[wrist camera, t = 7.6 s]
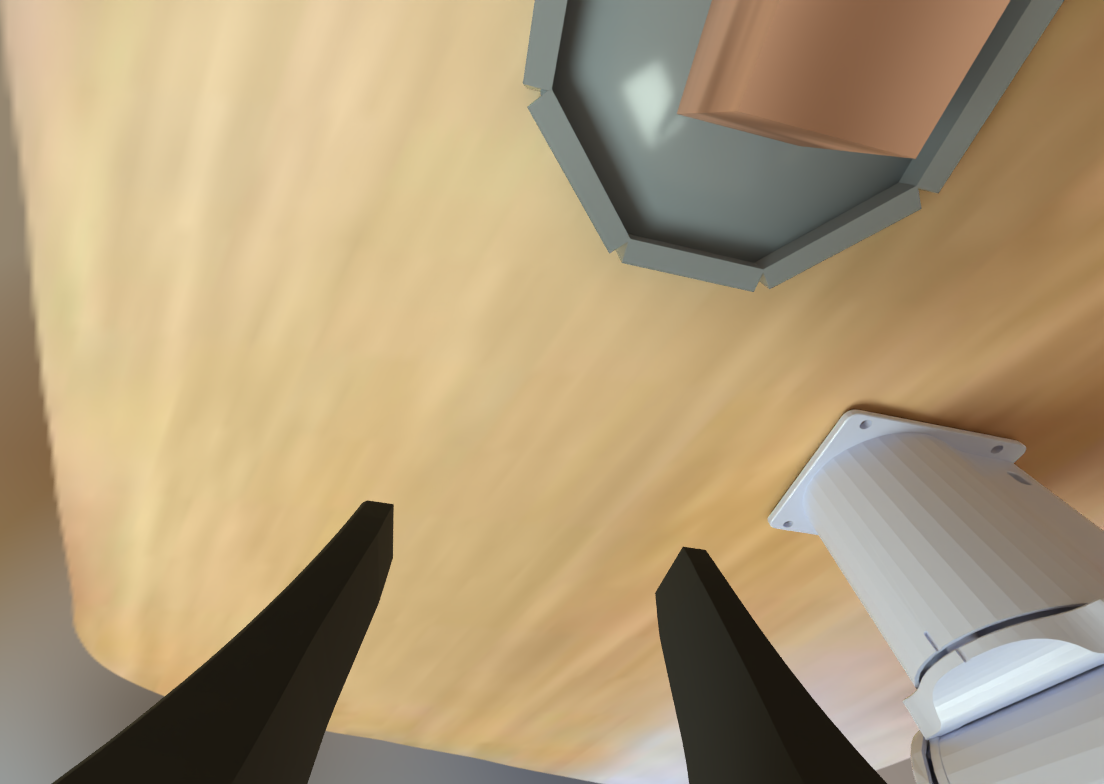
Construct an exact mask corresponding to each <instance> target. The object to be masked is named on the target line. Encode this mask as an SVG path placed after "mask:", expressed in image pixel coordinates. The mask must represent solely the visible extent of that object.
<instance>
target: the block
mask: <svg viewBox="0 0 1104 784" xmlns="http://www.w3.org/2000/svg"><path fill="white" fill-rule="evenodd" d="M1009 2H1010V0H712V2H711V5H710V8H709V12H708V15H707V18H706V21H705V24H704V28H703V31H702V34H701V37H700V40H699V44H698V47H697V50H696V53H695V57H694V60H693V63H692V66H691V69H690V73H689V76H688V79H687V82H686V85H685V89H684V92H683V95H682V98H681V102H680V105H679V108H678V111H677V114H679V115H683V116H686V117H690V118H694V119H698V120H702V121H705V122H709V123H713V124H717V125H721V126H724V127H728V128H732V129H736V130H740V131H744V132H747V133H751V134H755V135H759V136H763V137H766V138H770V139H774V140H778V141H782V142H785V143H789V144H793V145H797V146H803V147H812V148H821V149H830V150H840V151H849V152H858V153H867V154H876V155H885V156H895V157H904V158H913V159H916V157H917V156H918V154H919V152H920V151H921V149H922V147H923V146H924V144H925V142H926V141H927V139H928V137H929V136H930V134H931V132H932V131H933V129H934V127H935V126H936V124H937V122H938V121H939V119H940V117H941V116H942V114H943V112H944V111H945V109H946V107H947V106H948V104H949V102H950V101H951V99H952V97H953V96H954V94H955V92H956V91H957V89H958V87H959V86H960V84H961V82H962V81H963V79H964V77H965V76H966V74H967V72H968V70H969V69H970V67H971V65H972V64H973V62H974V60H975V59H976V57H977V55H978V54H979V52H980V50H981V49H982V47H983V45H984V44H985V42H986V40H987V39H988V37H989V35H990V34H991V32H992V30H993V29H994V27H995V25H996V24H997V22H998V20H999V19H1000V17H1001V15H1002V14H1003V12H1004V10H1005V9H1006V7H1007V5H1008V4H1009Z"/></svg>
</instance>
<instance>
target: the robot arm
mask: <svg viewBox="0 0 1104 784" xmlns="http://www.w3.org/2000/svg"><path fill="white" fill-rule="evenodd" d="M865 420H866V421H865ZM863 421H864V422H863ZM862 422H863V423H862ZM1025 451H1026V446H1025V445H1023V444H1022V443H1021V442H1019V441H1017V440H1012V439H1007V438H1002V437H996V436H991V435H986V434H981V433H976V432H971V431H966V430H960V429H955V428H950V427H945V426H940V425H935V424H929V423H924V422H919V421H914V420H909V419H904V418H899V417H893V416H888V415H883V414H878V413H873V412H868V411H863V410H850V411H848V412H846V413H845V414H844V415H843V416H842V417H841V418H840V419H839V421H838V422H837V424H836V425H835V426H834V428H833V429H832V430H831V432H830V433H829V435H828V436H827V437H826V439H825V440H824V441H823V443H822V444H821V446H820V447H819V448H818V450H817V451H816V452H815V454H814V455H813V456H812V458H811V459H810V461H809V462H808V463H807V465H806V466H805V467H804V469H803V470H802V472H801V473H800V474H799V476H798V477H797V478H796V480H795V481H794V483H793V484H792V485H791V487H790V488H789V489H788V491H787V492H786V493H785V495H784V496H783V498H782V499H781V500H780V502H779V503H778V504H777V506H776V507H775V509H774V510H773V511H772V513H771V514H770V515H769V517H768V522H769V524H770V526H771V527H773V528H777V529H783V530H790V531H796V532H803V533H809V534H816V535H819V536H820V538H821V540H822V541H823V543H824V544H825V546H826V547H827V549H828V551H829V552H830V554H831V555H832V557H833V558H834V560H835V562H836V563H837V565H838V566H839V568H840V569H841V571H842V573H843V574H844V576H845V577H846V579H847V580H848V582H849V584H850V585H851V587H852V588H853V590H854V591H855V593H856V595H857V596H858V598H859V599H860V601H861V602H862V604H863V606H864V607H865V609H866V610H867V612H868V613H869V615H870V617H871V618H872V620H873V621H874V623H875V624H876V626H877V628H878V629H879V631H880V632H881V634H882V635H883V637H884V639H885V640H886V642H887V643H888V645H889V646H890V648H891V650H892V651H893V653H894V654H895V656H896V657H897V659H898V661H899V662H900V664H901V665H902V667H903V668H904V670H905V672H906V673H907V675H908V676H909V678H910V679H911V681H912V682H913V684H914V686H915V687H916V689H917V690H916V691H915V692H914V693H913V694H912V695H910V696H909V697H907V698H905V699H904V700H903V703H904V704H905V706H906V708H907V709H908V711H909V713H910V714H911V716H912V718H913V719H914V721H915V723H916V724H917V726H918V728H919V729H920V730H919V731H918V732H917V733H916V734H915V736H914V737H913V740H912V743H911V763H912V770H913V774H914V778H915V781H916V784H1104V531H1103V530H1102V529H1100V528H1099V527H1098V526H1096V525H1095V524H1094V523H1092V522H1091V521H1090V520H1088V519H1087V518H1086V517H1084V516H1083V515H1082V514H1080V513H1079V512H1078V511H1076V510H1075V509H1074V508H1072V507H1071V506H1070V505H1068V504H1067V503H1066V502H1064V501H1063V500H1062V499H1060V498H1059V497H1058V496H1056V495H1055V494H1054V493H1052V492H1051V491H1050V490H1048V489H1047V488H1046V487H1044V486H1043V485H1042V484H1040V483H1039V482H1038V481H1036V480H1035V479H1034V478H1032V477H1031V476H1030V475H1028V474H1027V473H1026V472H1024V471H1023V470H1022V469H1020V468H1019V467H1018V466H1016V465H1015V464H1014V462H1015V461H1016V460H1018V459H1019V458H1020V457H1021V456H1022V455H1023V454H1024V453H1025ZM393 507H394V504H387V503H381V502H374V501H365V502H363V503H362V504H361V505H360V507H359V508H358V509H357V510H356V512H355V513H354V514H353V515H352V516H351V518H350V519H349V520H348V521H347V522H346V524H345V525H344V526H343V527H342V528H341V529H340V531H339V532H338V533H337V534H336V535H335V536H334V537H333V539H332V540H331V541H330V542H329V543H328V544H327V545H326V546H325V547H324V549H323V550H322V551H321V552H320V553H319V554H318V555H317V556H316V557H315V558H314V559H313V560H312V561H311V562H310V563H309V564H308V566H307V567H306V568H305V569H304V570H303V571H302V572H301V573H300V574H299V575H298V576H297V577H296V578H295V579H294V580H293V581H292V582H291V583H290V584H289V585H288V586H287V587H286V588H285V589H284V590H283V591H282V592H281V593H280V594H279V595H278V596H277V597H276V598H275V599H274V600H273V601H272V602H271V603H270V604H269V605H268V606H267V607H266V608H265V609H264V610H263V611H262V612H260V613H259V614H258V615H257V616H256V617H255V618H254V619H253V620H252V621H251V622H250V623H249V624H248V625H247V626H246V627H245V628H244V629H243V630H241V631H240V632H239V633H238V634H237V635H236V636H235V637H234V638H233V639H232V640H230V641H229V642H228V643H227V644H226V645H225V646H224V647H223V648H222V649H220V650H219V651H218V652H217V653H216V654H215V655H214V656H212V657H211V658H210V659H209V660H208V661H207V662H205V663H204V664H203V665H202V666H201V667H200V668H198V669H197V670H196V671H195V672H194V673H193V674H192V675H190V676H189V677H188V678H187V679H186V680H184V681H183V682H182V683H181V684H179V685H178V686H177V687H176V688H175V689H173V690H172V691H171V692H170V693H168V694H167V695H166V696H165V697H164V698H162V699H161V700H160V701H159V702H157V703H156V704H155V705H154V706H153V707H151V708H150V709H149V710H148V711H146V712H145V713H144V714H143V715H141V716H140V717H139V718H138V719H137V720H135V721H134V722H133V723H132V724H130V725H129V726H128V727H126V728H125V729H124V730H123V731H121V732H120V733H119V734H117V735H116V736H115V737H114V738H112V739H111V740H110V741H109V742H107V743H106V744H105V745H103V746H102V747H100V748H99V749H98V750H96V751H95V752H94V753H92V754H91V755H90V756H88V757H87V758H86V759H84V760H83V761H82V762H80V763H79V764H78V765H76V766H75V767H74V768H72V769H71V770H69V771H68V772H67V773H65V774H64V775H63V776H61V777H60V778H59V779H58V780H56V781H55V782H53V783H52V784H307V783H308V780H309V777H310V774H311V771H312V768H313V765H314V762H315V759H316V756H317V753H318V750H319V748H320V744H321V742H322V739H323V735H324V733H325V730H326V728H327V725H328V722H329V720H330V717H331V715H332V712H333V710H334V707H335V705H336V702H337V700H338V698H339V695H340V693H341V691H342V688H343V686H344V684H345V681H346V679H347V676H348V674H349V672H350V669H351V667H352V665H353V662H354V660H355V658H356V655H357V653H358V651H359V648H360V646H361V644H362V641H363V639H364V637H365V634H366V632H367V629H368V627H369V625H370V622H371V620H372V618H373V615H374V613H375V610H376V608H377V606H378V603H379V600H380V597H381V594H382V591H383V588H384V585H385V582H386V578H387V575H388V572H389V569H390V565H391V562H392V559H393ZM655 594H656V606H657V617H658V626H659V634H660V640H661V645H662V650H663V654H664V659H665V664H666V669H667V673H668V678H669V682H670V687H671V691H672V696H673V700H674V705H675V710H676V714H677V719H678V723H679V728H680V732H681V737H682V742H683V747H684V753H685V758H686V764H687V771H688V778H689V784H887V783H886V782H885V781H884V780H883V779H882V778H881V777H880V775H879V774H878V773H877V772H876V771H875V770H874V769H873V768H872V767H871V766H870V765H869V763H868V762H867V761H866V760H865V759H864V758H863V757H862V756H861V755H860V753H859V752H858V751H857V750H856V749H855V748H854V747H853V745H852V744H851V743H850V742H849V741H848V740H847V738H846V737H845V736H844V735H843V734H842V733H841V731H840V730H839V729H838V728H837V727H836V726H835V725H834V723H833V722H832V721H831V720H830V719H829V718H828V716H827V715H826V714H825V713H824V712H823V710H822V709H821V708H820V707H819V705H818V704H817V703H816V702H815V701H814V699H813V698H812V697H811V696H810V694H809V693H808V692H807V691H806V689H805V688H804V687H803V685H802V684H801V683H800V682H799V680H798V679H797V678H796V676H795V675H794V674H793V673H792V671H791V670H790V669H789V667H788V666H787V665H786V664H785V662H784V661H783V660H782V658H781V657H780V655H779V654H778V653H777V651H776V650H775V649H774V647H773V646H772V645H771V643H770V642H769V641H768V639H767V638H766V636H765V635H764V634H763V632H762V631H761V629H760V628H759V627H758V625H757V624H756V622H755V621H754V620H753V618H752V617H751V615H750V614H749V612H748V611H747V610H746V608H745V607H744V605H743V604H742V602H741V601H740V599H739V598H738V597H737V595H736V594H735V592H734V591H733V589H732V588H731V586H730V585H729V583H728V582H727V580H726V579H725V577H724V576H723V575H722V573H721V572H720V570H719V569H718V567H717V566H716V564H715V563H714V561H713V560H712V558H711V557H710V556H709V554H708V553H707V551H706V550H702V549H695V548H688V547H683V548H682V549H681V551H680V553H679V554H678V556H677V558H676V559H675V561H674V563H673V564H672V566H671V568H670V569H669V571H668V573H667V574H666V576H665V578H664V579H663V581H662V583H661V584H660V586H659V588H658V589H657V591H656V593H655Z"/></svg>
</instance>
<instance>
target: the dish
mask: <svg viewBox="0 0 1104 784" xmlns="http://www.w3.org/2000/svg"><path fill="white" fill-rule="evenodd" d="M1063 1H1064V0H1010V2H1009V4H1008V5H1007V7H1006V9H1005V10H1004V12H1003V14H1002V15H1001V17H1000V19H999V20H998V22H997V24H996V25H995V27H994V29H993V30H992V32H991V34H990V35H989V37H988V39H987V40H986V42H985V44H984V45H983V47H982V49H981V50H980V52H979V54H978V55H977V57H976V59H975V60H974V62H973V64H972V65H971V67H970V69H969V70H968V72H967V74H966V76H965V77H964V79H963V81H962V82H961V84H960V86H959V87H958V89H957V91H956V92H955V94H954V96H953V97H952V99H951V101H950V102H949V104H948V106H947V107H946V109H945V111H944V112H943V114H942V116H941V117H940V119H939V121H938V122H937V124H936V126H935V127H934V129H933V131H932V132H931V134H930V136H929V137H928V139H927V141H926V142H925V144H924V146H923V147H922V149H921V151H920V152H919V154H918V156H917V157H916V159H913V158H904V157H895V156H885V155H876V154H867V153H858V152H849V151H840V150H830V149H821V148H812V147H803V146H797V145H793V144H789V143H785V142H782V141H778V140H774V139H770V138H766V137H763V136H759V135H755V134H751V133H747V132H744V131H740V130H736V129H732V128H728V127H724V126H721V125H717V124H713V123H709V122H705V121H702V120H698V119H694V118H690V117H686V116H683V115H679V114H677V111H678V108H679V105H680V102H681V98H682V95H683V92H684V89H685V85H686V82H687V79H688V76H689V73H690V69H691V66H692V63H693V60H694V57H695V53H696V50H697V47H698V44H699V40H700V37H701V34H702V31H703V28H704V24H705V21H706V18H707V15H708V12H709V8H710V5H711V2H712V0H535V3H534V10H533V17H532V24H531V31H530V38H529V45H528V52H527V59H526V66H525V73H524V80H523V84H524V86H525V87H526V88H529V89H532V90H536V91H540V92H541V97H539V98H538V99H537V100H536V101H534V102H533V103H532V104H530V105H529V106H528V107H527V108H528V109H529V111H530V113H531V115H532V116H533V118H534V120H535V122H536V124H537V125H538V127H539V129H540V131H541V133H542V134H543V136H544V138H545V140H546V141H547V143H548V145H549V147H550V149H551V150H552V152H553V154H554V156H555V157H556V159H557V161H558V163H559V165H560V166H561V168H562V170H563V172H564V173H565V175H566V177H567V179H568V181H569V182H570V184H571V186H572V188H573V190H574V191H575V193H576V195H577V197H578V198H579V200H580V202H581V204H582V206H583V207H584V209H585V211H586V213H587V214H588V216H589V218H590V220H591V222H592V223H593V225H594V227H595V229H596V230H597V232H598V234H599V236H600V238H601V239H602V241H603V243H604V245H605V247H606V248H607V250H608V252H609V253H611V252H612V251H614V250H616V252H617V254H618V256H619V258H620V260H621V262H622V263H625V264H630V265H634V266H639V267H643V268H648V269H652V270H657V271H661V272H666V273H670V274H675V275H679V276H684V277H688V278H693V279H697V280H702V281H706V282H711V283H715V284H720V285H724V286H729V287H733V288H738V289H742V290H747V291H751V292H754V290H755V288H756V286H757V284H758V282H759V281H760V282H761V283H762V284H764V285H765V286H766V287H767V288H769V289H771V288H773V287H775V286H777V285H778V284H780V283H782V282H784V281H786V280H788V279H790V278H792V277H794V276H795V275H797V274H799V273H801V272H803V271H805V270H807V269H809V268H811V267H812V266H814V265H816V264H818V263H820V262H822V261H824V260H826V259H828V258H829V257H831V256H833V255H835V254H837V253H839V252H841V251H843V250H845V249H846V248H848V247H850V246H852V245H854V244H856V243H858V242H860V241H862V240H863V239H865V238H867V237H869V236H871V235H873V234H875V233H877V232H879V231H880V230H882V229H884V228H886V227H888V226H890V225H892V224H894V223H896V222H897V221H899V220H901V219H903V218H905V217H907V216H909V215H911V214H913V213H914V212H916V211H918V210H920V209H921V203H920V197H919V190H923V191H928V192H934V193H939V192H940V190H941V189H942V187H943V185H944V184H945V182H946V181H947V179H948V178H949V176H950V175H951V173H952V172H953V170H954V169H955V167H956V166H957V164H958V162H959V161H960V159H961V158H962V156H963V155H964V153H965V152H966V150H967V149H968V147H969V146H970V144H971V143H972V141H973V139H974V138H975V136H976V135H977V133H978V132H979V130H980V129H981V127H982V126H983V124H984V123H985V121H986V119H987V118H988V116H989V115H990V113H991V112H992V110H993V109H994V107H995V106H996V104H997V103H998V101H999V100H1000V98H1001V96H1002V95H1003V93H1004V92H1005V90H1006V89H1007V87H1008V86H1009V84H1010V83H1011V81H1012V80H1013V78H1014V77H1015V75H1016V73H1017V72H1018V70H1019V69H1020V67H1021V66H1022V64H1023V63H1024V61H1025V60H1026V58H1027V57H1028V55H1029V54H1030V52H1031V50H1032V49H1033V47H1034V46H1035V44H1036V43H1037V41H1038V40H1039V38H1040V37H1041V35H1042V34H1043V32H1044V30H1045V29H1046V27H1047V26H1048V24H1049V23H1050V21H1051V20H1052V18H1053V17H1054V15H1055V14H1056V12H1057V11H1058V9H1059V7H1060V6H1061V4H1062V3H1063Z"/></svg>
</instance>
